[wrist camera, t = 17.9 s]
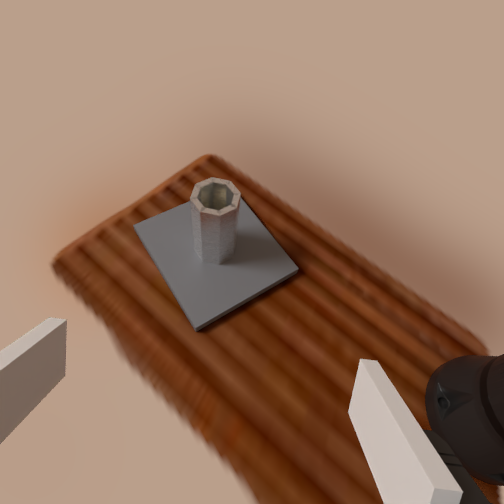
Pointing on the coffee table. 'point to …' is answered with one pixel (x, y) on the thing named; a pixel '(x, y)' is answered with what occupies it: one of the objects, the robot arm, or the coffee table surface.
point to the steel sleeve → (215, 219)
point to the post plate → (212, 275)
